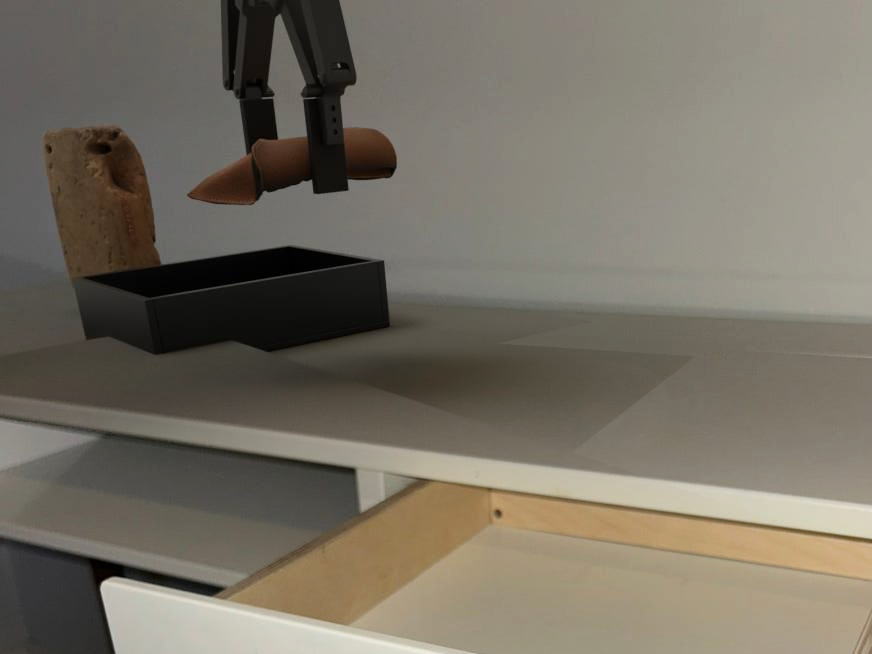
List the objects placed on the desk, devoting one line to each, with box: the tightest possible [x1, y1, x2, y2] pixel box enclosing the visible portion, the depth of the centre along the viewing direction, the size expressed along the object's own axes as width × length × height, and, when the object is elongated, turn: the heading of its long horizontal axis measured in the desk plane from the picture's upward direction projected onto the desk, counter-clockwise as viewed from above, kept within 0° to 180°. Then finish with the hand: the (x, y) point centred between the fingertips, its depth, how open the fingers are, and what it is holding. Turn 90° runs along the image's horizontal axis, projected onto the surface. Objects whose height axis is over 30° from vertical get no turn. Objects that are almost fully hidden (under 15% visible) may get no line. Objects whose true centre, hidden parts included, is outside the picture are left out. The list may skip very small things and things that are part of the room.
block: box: [42, 124, 162, 291], centre depth 123 cm, size 11×8×20 cm
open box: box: [72, 244, 391, 356], centre depth 111 cm, size 26×20×7 cm
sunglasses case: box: [186, 126, 398, 206], centre depth 86 cm, size 18×7×7 cm
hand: (297, 188), depth 86 cm, fingers closed on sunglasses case, 10 cm apart
